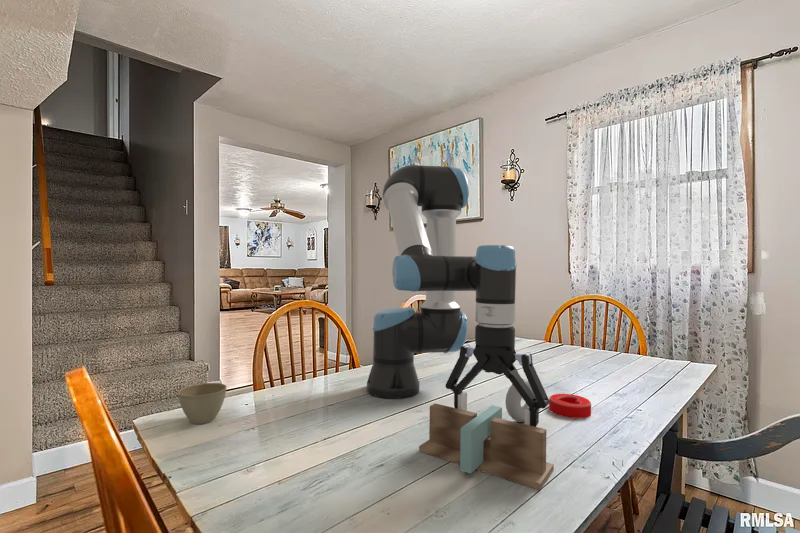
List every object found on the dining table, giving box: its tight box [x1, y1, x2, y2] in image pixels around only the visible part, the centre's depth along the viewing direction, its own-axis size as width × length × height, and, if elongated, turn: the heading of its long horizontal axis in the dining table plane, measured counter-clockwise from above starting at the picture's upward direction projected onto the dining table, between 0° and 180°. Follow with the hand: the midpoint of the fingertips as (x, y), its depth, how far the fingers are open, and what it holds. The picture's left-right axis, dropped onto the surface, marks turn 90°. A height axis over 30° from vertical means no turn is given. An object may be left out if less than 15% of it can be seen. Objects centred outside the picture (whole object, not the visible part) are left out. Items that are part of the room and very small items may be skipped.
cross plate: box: [459, 404, 503, 474], centre depth 74 cm, size 14×2×7 cm, turn 145°
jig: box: [418, 403, 555, 491], centre depth 75 cm, size 23×8×8 cm, turn 55°
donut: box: [505, 377, 541, 423], centre depth 94 cm, size 10×4×10 cm, turn 118°
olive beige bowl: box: [177, 382, 227, 425], centre depth 93 cm, size 10×10×7 cm
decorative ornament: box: [548, 393, 592, 419], centre depth 101 cm, size 10×10×3 cm
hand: (493, 433), depth 79 cm, fingers open, 13 cm apart
